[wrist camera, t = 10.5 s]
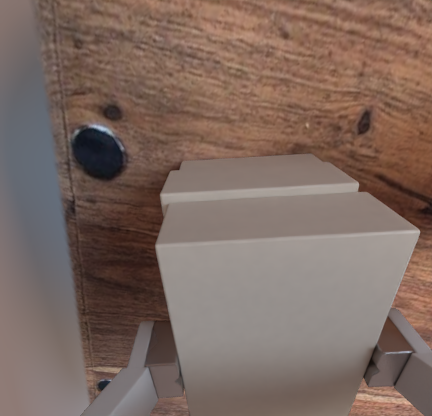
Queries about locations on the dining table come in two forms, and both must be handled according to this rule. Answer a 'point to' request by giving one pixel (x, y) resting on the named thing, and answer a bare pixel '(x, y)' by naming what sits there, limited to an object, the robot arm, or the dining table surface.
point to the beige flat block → (279, 298)
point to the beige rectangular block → (254, 179)
